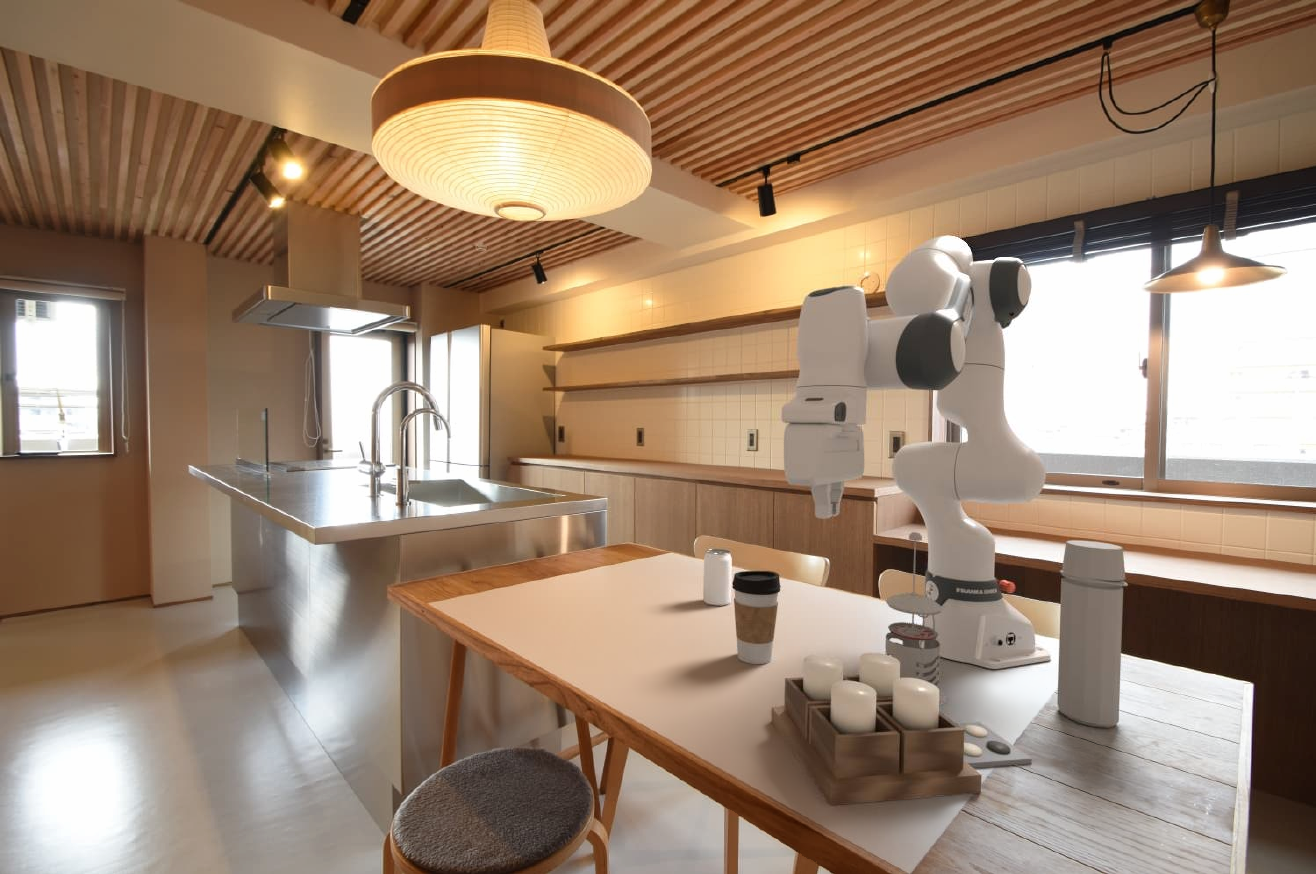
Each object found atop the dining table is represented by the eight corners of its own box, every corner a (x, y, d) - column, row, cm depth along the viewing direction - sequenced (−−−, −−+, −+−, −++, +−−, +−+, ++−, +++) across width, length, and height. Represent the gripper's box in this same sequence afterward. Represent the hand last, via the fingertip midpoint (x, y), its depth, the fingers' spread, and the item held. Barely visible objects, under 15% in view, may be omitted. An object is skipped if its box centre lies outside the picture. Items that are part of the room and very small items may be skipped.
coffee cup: (778, 669, 97) (781, 581, 97) (728, 664, 99) (730, 577, 99) (778, 651, 105) (780, 569, 105) (732, 646, 107) (734, 566, 107)
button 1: (831, 690, 78) (832, 654, 78) (849, 708, 73) (850, 669, 73) (796, 692, 78) (797, 655, 77) (812, 710, 73) (813, 671, 73)
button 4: (921, 716, 72) (922, 676, 72) (947, 737, 67) (948, 695, 67) (884, 718, 71) (885, 678, 71) (907, 740, 66) (909, 697, 66)
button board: (891, 714, 83) (892, 669, 82) (981, 792, 65) (982, 735, 65) (771, 721, 80) (772, 674, 80) (830, 805, 62) (832, 745, 62)
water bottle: (1095, 734, 78) (1101, 551, 78) (1042, 707, 86) (1047, 540, 85) (1144, 726, 81) (1150, 548, 80) (1088, 701, 88) (1093, 538, 88)
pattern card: (979, 726, 80) (979, 719, 80) (1031, 763, 71) (1031, 756, 71) (920, 729, 78) (920, 723, 78) (965, 768, 69) (965, 760, 69)
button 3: (885, 688, 80) (886, 652, 80) (907, 705, 75) (908, 666, 75) (852, 689, 79) (853, 653, 79) (871, 707, 74) (872, 668, 74)
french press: (866, 690, 90) (870, 531, 90) (897, 670, 98) (901, 524, 98) (931, 713, 83) (936, 540, 83) (959, 689, 91) (964, 532, 91)
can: (698, 599, 137) (700, 549, 137) (723, 597, 139) (725, 548, 139) (709, 607, 131) (710, 554, 131) (735, 605, 133) (736, 553, 133)
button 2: (861, 720, 70) (862, 679, 70) (883, 742, 66) (885, 698, 65) (822, 722, 70) (824, 681, 70) (842, 745, 65) (843, 700, 65)
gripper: (833, 413, 85) (830, 506, 86) (775, 407, 69) (772, 522, 69) (877, 413, 82) (874, 511, 82) (827, 407, 65) (823, 529, 65)
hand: (827, 516), depth 75 cm, fingers closed
